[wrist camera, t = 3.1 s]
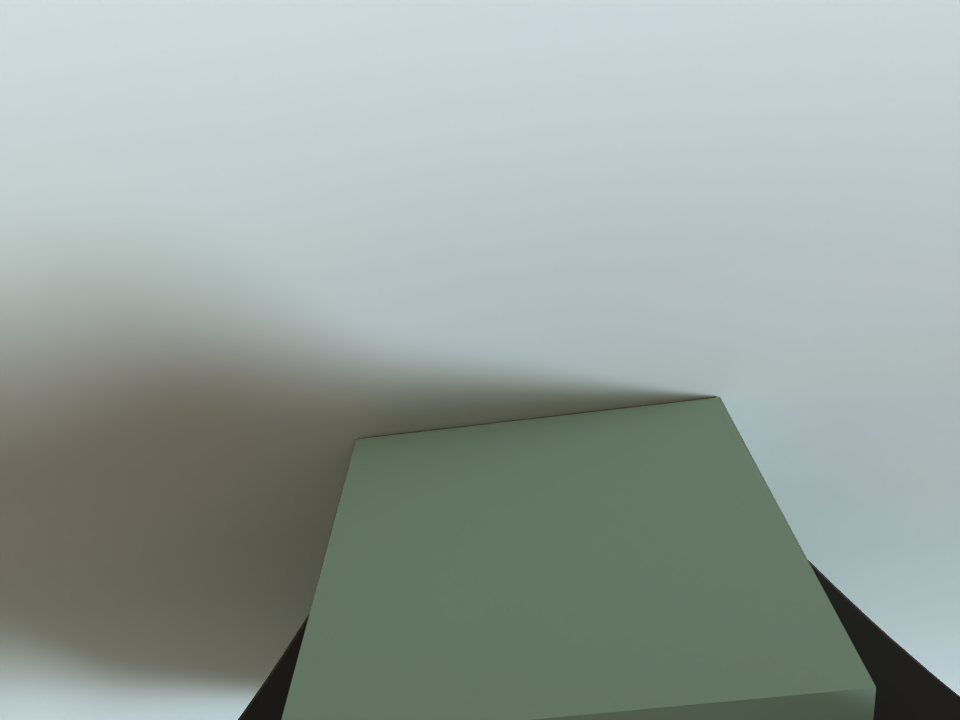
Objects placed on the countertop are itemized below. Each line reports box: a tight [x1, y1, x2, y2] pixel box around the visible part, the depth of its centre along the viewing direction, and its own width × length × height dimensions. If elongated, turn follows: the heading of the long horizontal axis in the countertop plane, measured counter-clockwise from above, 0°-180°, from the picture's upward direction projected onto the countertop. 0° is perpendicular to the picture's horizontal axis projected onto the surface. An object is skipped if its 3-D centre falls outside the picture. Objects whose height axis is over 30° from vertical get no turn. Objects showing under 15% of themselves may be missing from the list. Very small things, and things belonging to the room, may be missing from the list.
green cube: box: [281, 397, 876, 720], centre depth 10 cm, size 5×5×5 cm
